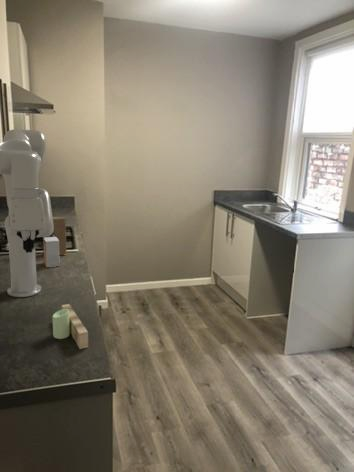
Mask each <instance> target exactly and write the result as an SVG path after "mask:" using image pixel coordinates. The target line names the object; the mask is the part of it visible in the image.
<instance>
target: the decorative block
mask: <svg viewBox="0 0 354 472" xmlns="http://www.w3.org/2000/svg"><path fill="white" fill-rule="evenodd" d="M52 217H53V225H54V230H53V233H52V234H53V237H57V238H58V240H59V255H63V256H65V255H64V254H66V255H67V227H66V225H67V224H66V223H67V222H66V221H67V219H66V217H64V216H52ZM43 250H44V245H43Z"/></svg>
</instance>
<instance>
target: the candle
mask: <svg viewBox="0 0 354 472" xmlns="http://www.w3.org/2000/svg"><path fill="white" fill-rule="evenodd" d="M52 335H53V337H54V338H55V339H57V340H63V339H67V338H68V337H69V336H70V335H71V333H70V323H69V310H68V309H62V308H61V309H60V310H57V311H56V312H55V313H53V315H52Z"/></svg>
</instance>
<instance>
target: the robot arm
mask: <svg viewBox="0 0 354 472" xmlns="http://www.w3.org/2000/svg"><path fill="white" fill-rule="evenodd" d="M46 148H47V142H46V138H45V135H44V134H43V133H42V132H41V131H40V130H36V129H35V130H33V129H21V128H20V129H18V128H16V129H15V128H14V129H10V130H7V131H6V133H5V134H4V135H3V141H0V175H1V176H2V177H3V180H4V182H5V184H4V185H5V194H6V203H7V207H8V215H7V217H5V220H4V228H5V233H6V238H7V244H8V252H9V253H8V255H9V271H10V285H11V286H10V287H8V288H7V290H6V293H7V295H9V296H11V297H14V298H25V297H27V298H28V297H32V296H35V295H38V294H39V293H40V292H42V291H41V290H42V286H41V285H40V284H38V283H37V282H38V281H37V279H38V278H37V259H36V258H37V257H36V256H37V255H36V248H35V244H34V241H35V239H36V238H45V237H51V235H52V234H54V233H53V230H54V225H53V217H54V216H53V211H52V204H51V197H50V194H49V192H48V191H47V190H46V189H44V188H41V187H39V172H40V170H41V169H42V165H43V163H44V159H45V153H46V150H47V149H46ZM52 236H53V235H52Z"/></svg>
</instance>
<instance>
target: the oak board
mask: <svg viewBox="0 0 354 472" xmlns="http://www.w3.org/2000/svg"><path fill="white" fill-rule="evenodd" d="M62 309H68V310H69V323H70V335H71V336H72V338H73V340H74V341H75V344H76V346H77V347H78V348H79V350H82V349H86V348H89V331H88V330H87V328H86V327H85V326H84V324H83V322H82V321H81V319H80V318H79V317H78V315H77V314H76V312H75V311H74V309H73V308H72V306H71V305H70V303H68V304H67V303H66V304H62V305H61V310H62Z"/></svg>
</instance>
